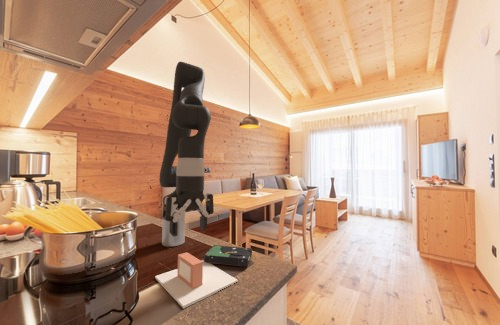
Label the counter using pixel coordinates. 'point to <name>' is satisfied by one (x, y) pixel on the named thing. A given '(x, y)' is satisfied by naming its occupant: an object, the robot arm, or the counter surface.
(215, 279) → the mat
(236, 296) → the counter surface
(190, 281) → the deck box
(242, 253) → the disk drive
